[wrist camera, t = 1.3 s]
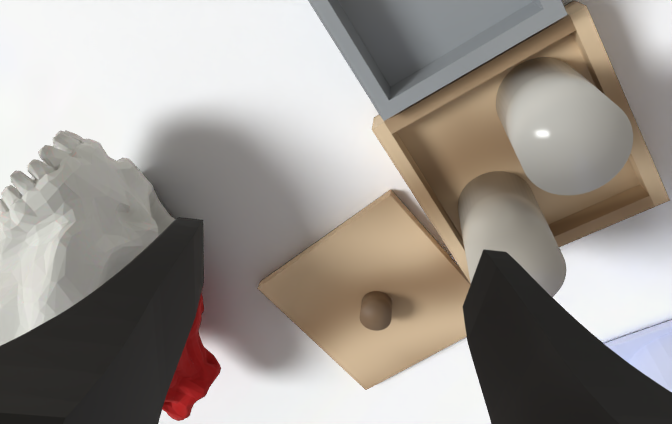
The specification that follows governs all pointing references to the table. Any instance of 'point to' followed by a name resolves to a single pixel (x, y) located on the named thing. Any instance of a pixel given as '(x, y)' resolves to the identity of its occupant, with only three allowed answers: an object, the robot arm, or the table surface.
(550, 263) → the grey capsule cylinder
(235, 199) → the table surface
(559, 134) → the pale grey capsule
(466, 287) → the oak lid
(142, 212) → the white and red lump
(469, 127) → the oak box
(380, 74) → the slate dish
